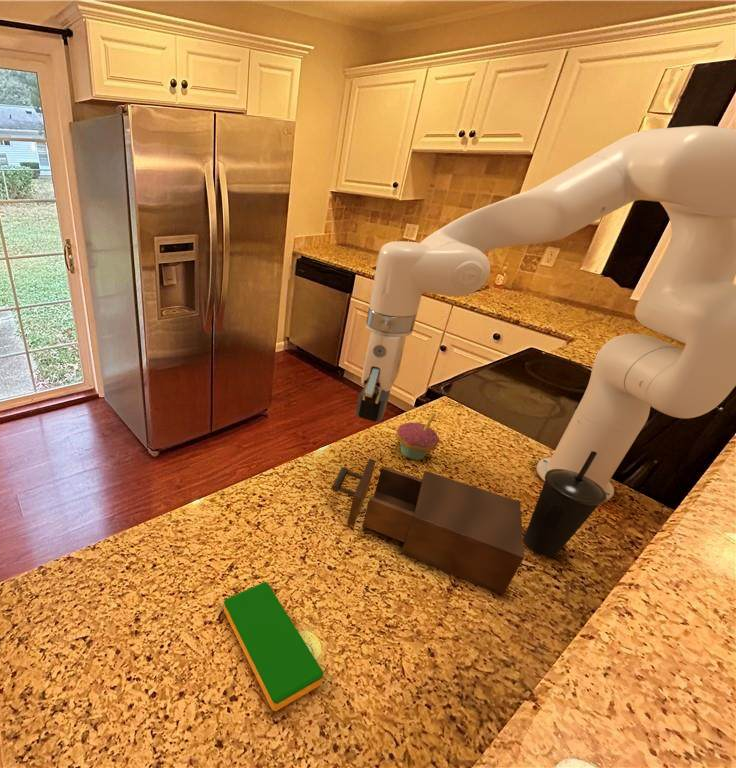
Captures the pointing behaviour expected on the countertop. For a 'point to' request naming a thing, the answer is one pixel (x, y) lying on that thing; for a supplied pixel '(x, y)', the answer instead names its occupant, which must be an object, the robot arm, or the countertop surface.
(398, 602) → the countertop surface
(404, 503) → the drawer
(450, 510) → the cabinet
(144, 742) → the countertop surface
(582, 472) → the drinking cup
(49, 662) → the countertop surface
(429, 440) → the cupcake
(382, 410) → the block
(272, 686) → the dish sponge
